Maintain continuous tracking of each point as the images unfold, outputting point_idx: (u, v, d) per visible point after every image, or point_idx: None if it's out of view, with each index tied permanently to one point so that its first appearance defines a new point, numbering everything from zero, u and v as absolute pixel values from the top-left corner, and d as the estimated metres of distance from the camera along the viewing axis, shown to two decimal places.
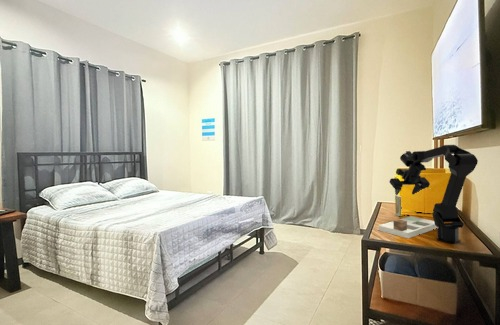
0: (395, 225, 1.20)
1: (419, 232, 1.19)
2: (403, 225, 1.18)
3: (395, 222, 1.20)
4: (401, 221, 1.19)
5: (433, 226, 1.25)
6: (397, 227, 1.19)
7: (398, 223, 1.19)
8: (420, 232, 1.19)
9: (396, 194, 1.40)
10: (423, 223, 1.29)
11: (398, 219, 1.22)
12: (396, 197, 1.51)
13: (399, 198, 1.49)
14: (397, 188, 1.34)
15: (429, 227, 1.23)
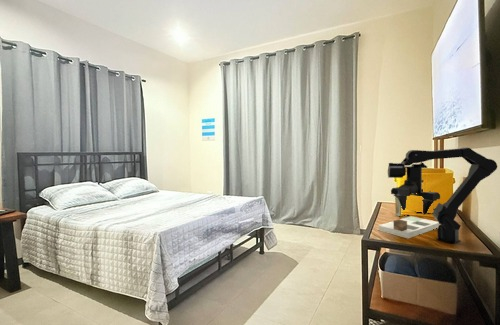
0: (395, 225, 1.20)
1: (419, 232, 1.19)
2: (403, 225, 1.18)
3: (395, 222, 1.20)
4: (401, 221, 1.19)
5: (433, 226, 1.25)
6: (397, 227, 1.19)
7: (398, 223, 1.19)
8: (420, 232, 1.19)
9: (426, 212, 1.10)
10: (423, 223, 1.29)
11: (398, 219, 1.22)
12: (396, 197, 1.51)
13: None
14: None
15: (429, 227, 1.23)
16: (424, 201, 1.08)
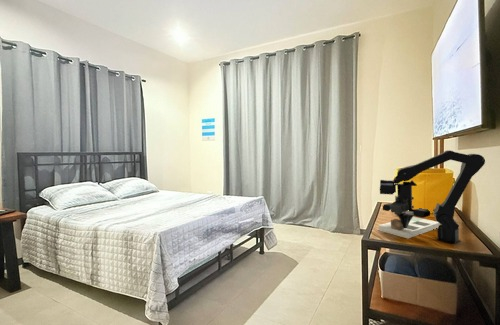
0: (392, 224, 1.21)
1: (419, 232, 1.19)
2: (400, 224, 1.19)
3: (392, 221, 1.21)
4: (398, 220, 1.20)
5: (433, 226, 1.25)
6: (394, 226, 1.20)
7: (395, 222, 1.20)
8: (420, 232, 1.19)
9: None
10: (423, 223, 1.29)
11: None
12: None
13: None
14: None
15: (429, 227, 1.23)
16: (405, 216, 1.15)
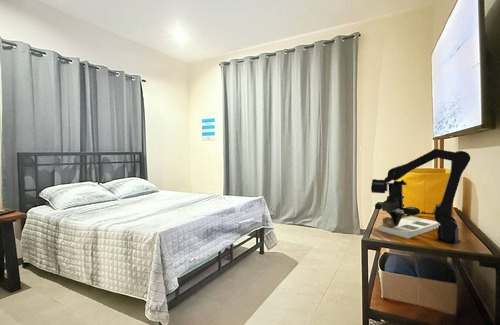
0: (384, 222, 1.25)
1: (419, 232, 1.19)
2: (392, 222, 1.23)
3: (384, 219, 1.25)
4: (390, 218, 1.24)
5: (433, 226, 1.25)
6: (386, 224, 1.24)
7: (387, 220, 1.24)
8: (420, 232, 1.19)
9: None
10: (423, 223, 1.29)
11: (387, 217, 1.27)
12: None
13: None
14: None
15: (429, 227, 1.23)
16: (396, 214, 1.19)
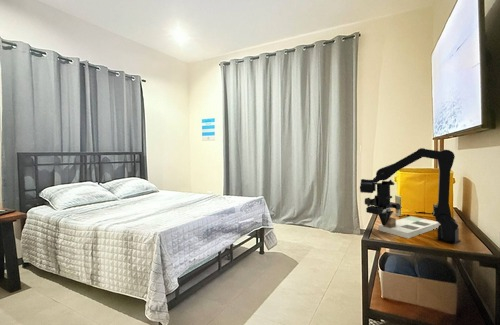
0: None
1: (419, 232, 1.19)
2: (392, 222, 1.23)
3: None
4: (390, 218, 1.24)
5: (433, 226, 1.25)
6: (386, 224, 1.24)
7: None
8: (420, 232, 1.19)
9: (384, 224, 1.23)
10: (423, 223, 1.29)
11: None
12: (396, 197, 1.51)
13: (399, 198, 1.49)
14: (379, 214, 1.17)
15: (429, 227, 1.23)
16: None
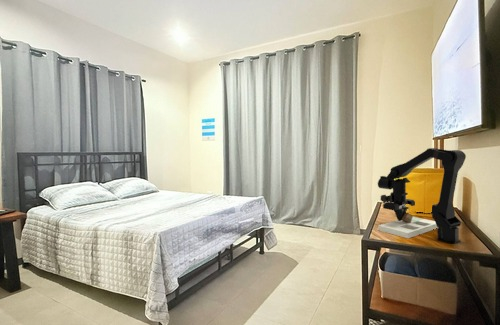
0: None
1: (419, 232, 1.19)
2: (408, 216, 1.28)
3: None
4: None
5: (433, 226, 1.25)
6: None
7: None
8: (420, 232, 1.19)
9: (400, 219, 1.29)
10: (423, 223, 1.29)
11: None
12: None
13: None
14: (396, 209, 1.23)
15: (429, 227, 1.23)
16: None
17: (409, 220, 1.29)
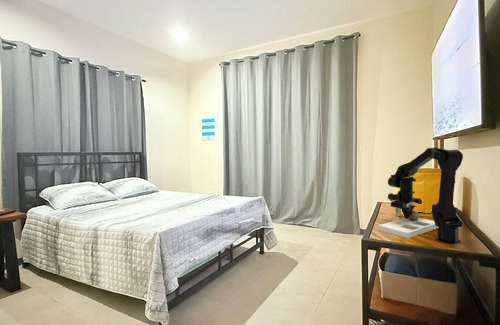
0: None
1: (419, 232, 1.19)
2: (415, 214, 1.31)
3: None
4: None
5: (433, 226, 1.25)
6: None
7: None
8: (420, 232, 1.19)
9: (407, 217, 1.32)
10: (423, 223, 1.29)
11: None
12: None
13: None
14: (403, 207, 1.26)
15: (429, 227, 1.23)
16: None
17: (416, 218, 1.32)
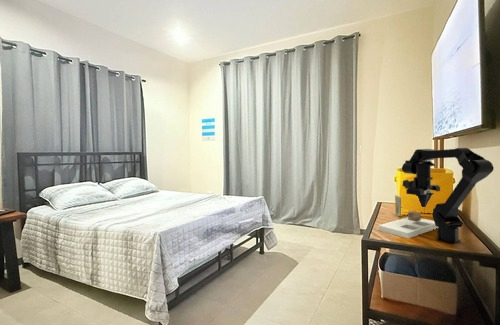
0: (409, 216, 1.34)
1: (419, 232, 1.19)
2: (417, 216, 1.32)
3: (409, 213, 1.34)
4: (415, 212, 1.33)
5: (433, 226, 1.25)
6: (411, 218, 1.33)
7: (412, 214, 1.33)
8: (420, 232, 1.19)
9: (424, 205, 1.21)
10: (423, 223, 1.29)
11: (412, 211, 1.36)
12: (396, 197, 1.51)
13: (399, 198, 1.49)
14: (421, 194, 1.16)
15: (429, 227, 1.23)
16: None
17: (418, 218, 1.32)
